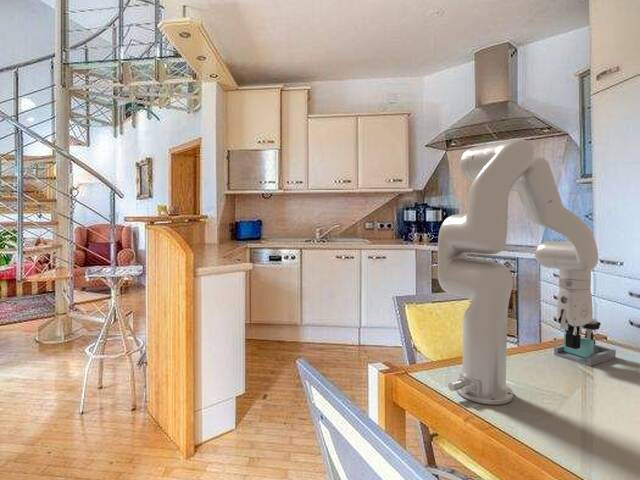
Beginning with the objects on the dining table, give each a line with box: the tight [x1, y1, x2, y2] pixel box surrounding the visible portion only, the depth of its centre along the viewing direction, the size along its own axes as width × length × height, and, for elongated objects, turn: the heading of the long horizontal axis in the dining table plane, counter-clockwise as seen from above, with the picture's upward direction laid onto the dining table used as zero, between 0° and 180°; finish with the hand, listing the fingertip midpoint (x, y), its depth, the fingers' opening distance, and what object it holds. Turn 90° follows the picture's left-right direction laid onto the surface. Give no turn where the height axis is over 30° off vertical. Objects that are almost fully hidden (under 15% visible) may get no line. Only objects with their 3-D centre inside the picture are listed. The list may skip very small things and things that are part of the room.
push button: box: [582, 317, 602, 353], centre depth 113 cm, size 7×5×10 cm
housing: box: [553, 343, 617, 367], centre depth 113 cm, size 13×10×2 cm
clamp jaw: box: [563, 333, 595, 358], centre depth 111 cm, size 2×7×5 cm, turn 27°
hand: (572, 347), depth 110 cm, fingers closed
